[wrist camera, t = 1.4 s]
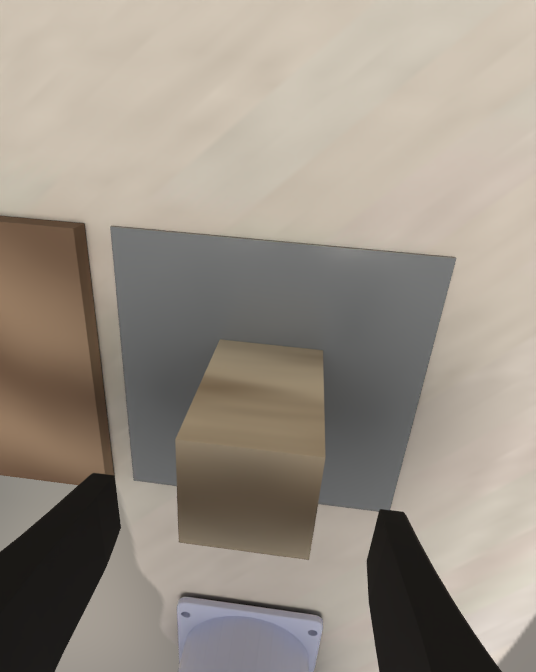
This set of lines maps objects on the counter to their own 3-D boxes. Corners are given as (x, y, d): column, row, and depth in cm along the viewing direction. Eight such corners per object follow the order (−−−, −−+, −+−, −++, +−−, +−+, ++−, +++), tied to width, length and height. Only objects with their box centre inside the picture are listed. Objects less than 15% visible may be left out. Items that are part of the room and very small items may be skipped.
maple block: (311, 433, 19) (308, 559, 13) (218, 422, 19) (178, 542, 14) (322, 350, 17) (325, 457, 12) (219, 339, 17) (175, 439, 12)
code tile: (388, 511, 20) (389, 513, 20) (134, 478, 21) (133, 480, 21) (455, 257, 15) (456, 258, 15) (111, 226, 16) (109, 226, 16)
